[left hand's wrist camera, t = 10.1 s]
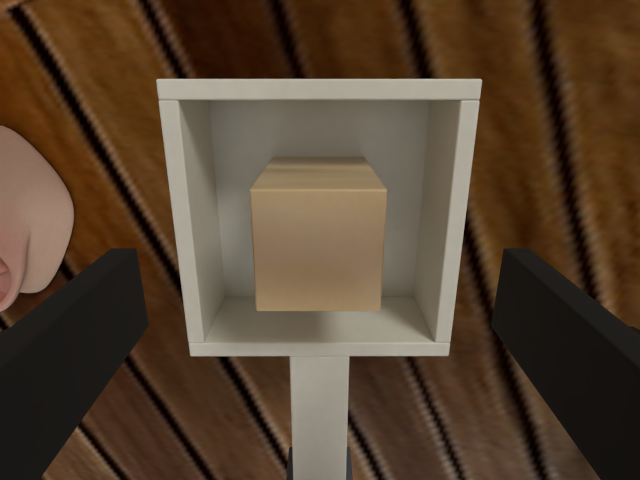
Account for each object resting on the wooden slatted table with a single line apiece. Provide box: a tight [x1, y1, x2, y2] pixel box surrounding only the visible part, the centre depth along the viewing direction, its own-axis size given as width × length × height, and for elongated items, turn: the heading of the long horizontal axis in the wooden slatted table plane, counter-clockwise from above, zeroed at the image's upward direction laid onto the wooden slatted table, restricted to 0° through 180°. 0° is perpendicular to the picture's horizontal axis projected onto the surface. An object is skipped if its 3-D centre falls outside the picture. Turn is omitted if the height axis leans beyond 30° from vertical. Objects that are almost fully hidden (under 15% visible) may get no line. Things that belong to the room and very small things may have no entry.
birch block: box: [249, 157, 387, 311], centre depth 20 cm, size 5×5×8 cm
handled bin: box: [156, 79, 482, 480], centre depth 20 cm, size 26×13×12 cm, turn 0°
